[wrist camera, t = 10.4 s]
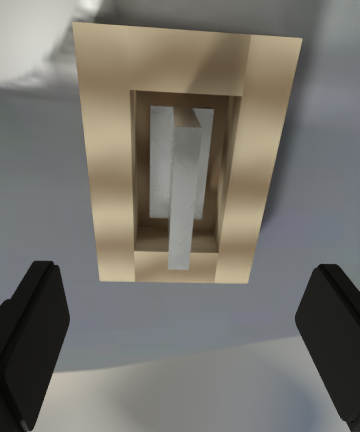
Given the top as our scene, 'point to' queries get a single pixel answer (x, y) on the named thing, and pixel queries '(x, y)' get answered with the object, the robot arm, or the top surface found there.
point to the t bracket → (179, 172)
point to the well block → (219, 146)
